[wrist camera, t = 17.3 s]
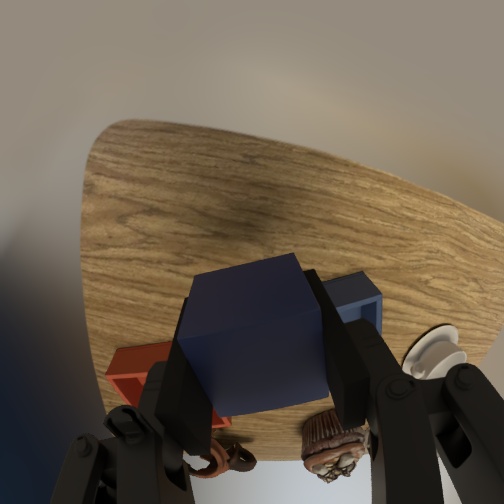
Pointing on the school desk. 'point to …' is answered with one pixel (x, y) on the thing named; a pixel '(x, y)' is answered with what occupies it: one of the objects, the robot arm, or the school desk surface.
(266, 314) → the navy block
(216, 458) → the brown curved open frame
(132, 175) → the school desk surface
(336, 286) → the slate-blue bin
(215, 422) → the terracotta bin
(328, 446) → the cupcake
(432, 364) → the teacup
